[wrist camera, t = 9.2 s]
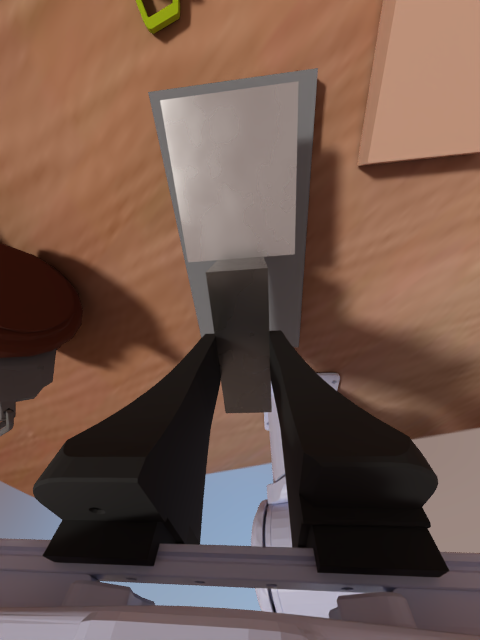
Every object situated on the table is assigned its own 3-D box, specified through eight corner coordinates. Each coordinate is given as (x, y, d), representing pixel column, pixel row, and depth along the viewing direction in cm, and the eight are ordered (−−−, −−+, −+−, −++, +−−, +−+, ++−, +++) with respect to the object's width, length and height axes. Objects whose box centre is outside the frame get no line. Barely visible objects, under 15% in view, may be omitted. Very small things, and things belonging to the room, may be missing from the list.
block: (500, 149, 12) (598, -83, 8) (367, 163, 12) (404, -49, 9) (474, 153, 13) (548, -43, 10) (355, 166, 14) (383, -16, 10)
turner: (290, 367, 16) (302, 411, 12) (209, 370, 16) (196, 413, 12) (295, 89, 10) (323, 5, 6) (164, 107, 10) (115, 39, 6)
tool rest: (297, 341, 21) (298, 347, 20) (205, 345, 22) (204, 351, 21) (313, 75, 12) (317, 68, 11) (153, 97, 12) (148, 92, 12)
